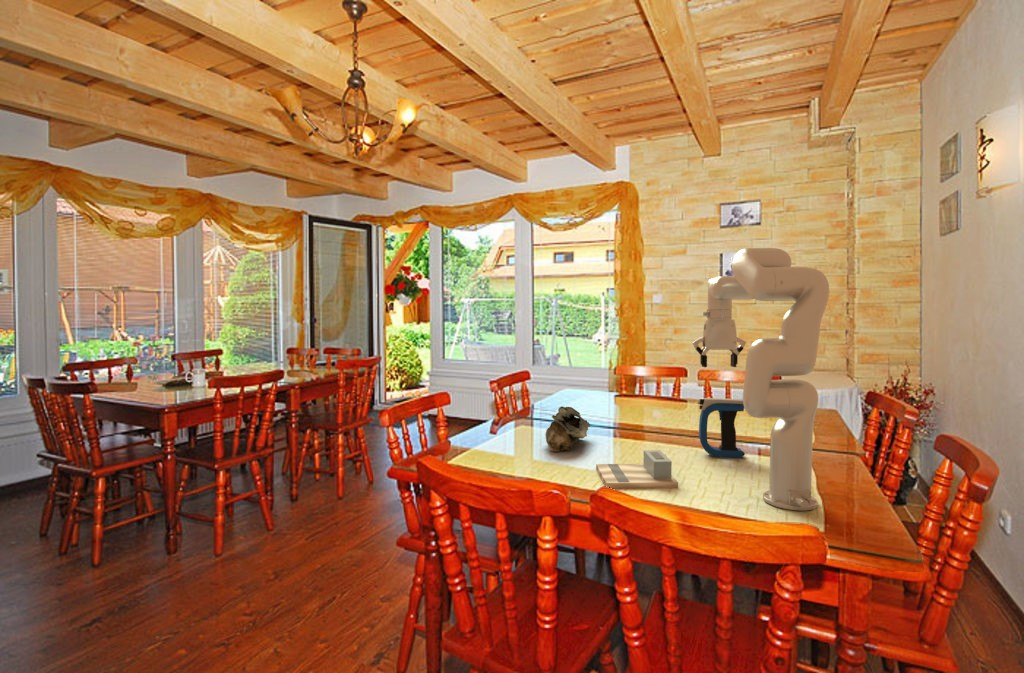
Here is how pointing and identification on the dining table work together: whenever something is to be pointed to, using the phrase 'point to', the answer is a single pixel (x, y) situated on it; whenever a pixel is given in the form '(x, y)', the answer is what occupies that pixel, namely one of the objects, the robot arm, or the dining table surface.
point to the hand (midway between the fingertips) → (718, 366)
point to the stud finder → (657, 464)
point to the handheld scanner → (728, 432)
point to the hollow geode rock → (566, 429)
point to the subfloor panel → (631, 477)
